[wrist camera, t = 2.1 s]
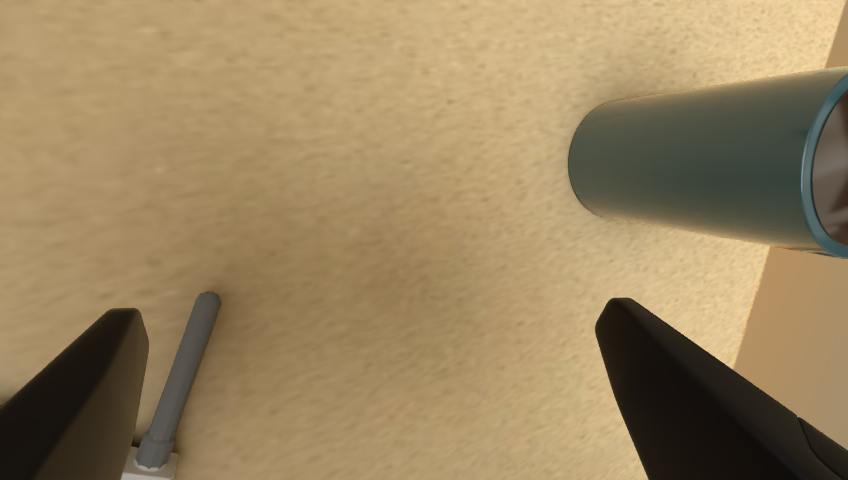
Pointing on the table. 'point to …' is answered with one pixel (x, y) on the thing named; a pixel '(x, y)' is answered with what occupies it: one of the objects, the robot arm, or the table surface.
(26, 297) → the table surface
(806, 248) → the mug
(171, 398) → the walkie-talkie
